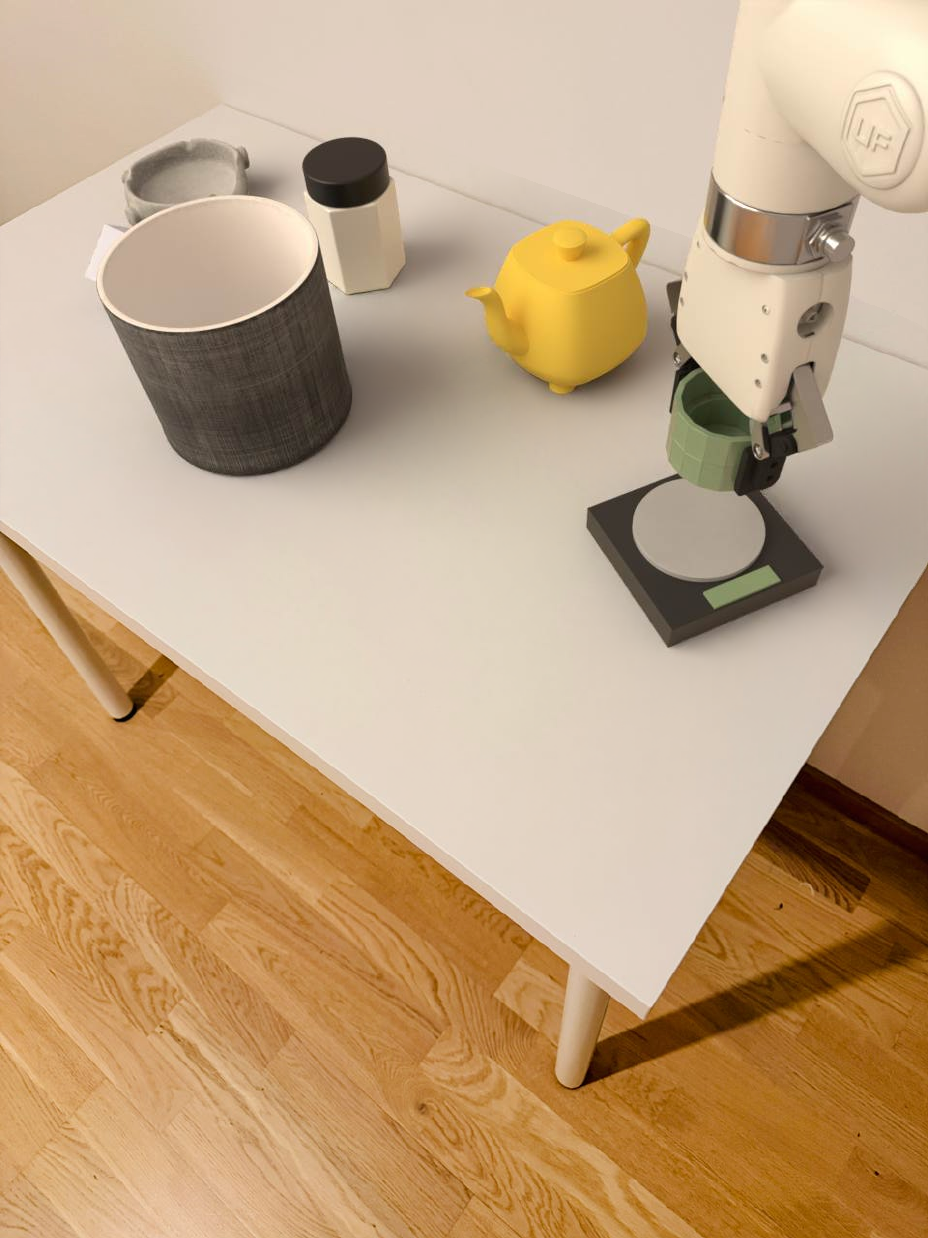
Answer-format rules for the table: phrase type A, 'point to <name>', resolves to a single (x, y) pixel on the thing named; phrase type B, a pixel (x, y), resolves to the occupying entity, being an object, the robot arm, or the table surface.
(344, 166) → the jar
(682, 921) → the table surface
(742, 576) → the scale
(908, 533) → the table surface
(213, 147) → the dish
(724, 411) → the green cup
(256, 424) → the planter
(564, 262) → the teapot
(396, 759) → the table surface
